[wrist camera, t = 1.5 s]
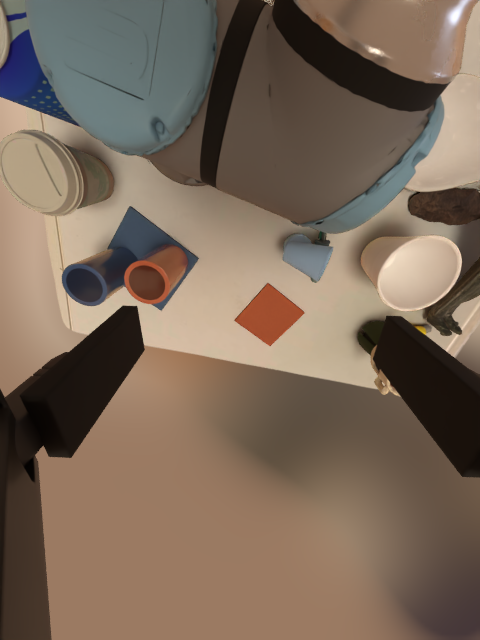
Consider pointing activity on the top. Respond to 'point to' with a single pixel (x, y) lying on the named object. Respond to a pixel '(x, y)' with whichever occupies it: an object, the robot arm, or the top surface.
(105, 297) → the blue tumbler
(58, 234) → the top surface
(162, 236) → the blue mat
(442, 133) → the spoon rest
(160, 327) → the top surface
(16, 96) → the beer can
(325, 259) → the spotlight
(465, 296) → the statue
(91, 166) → the coffee cup
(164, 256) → the terracotta tumbler
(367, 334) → the character mug
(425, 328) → the light bulb
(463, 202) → the stone
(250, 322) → the terracotta mat
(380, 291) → the cup
